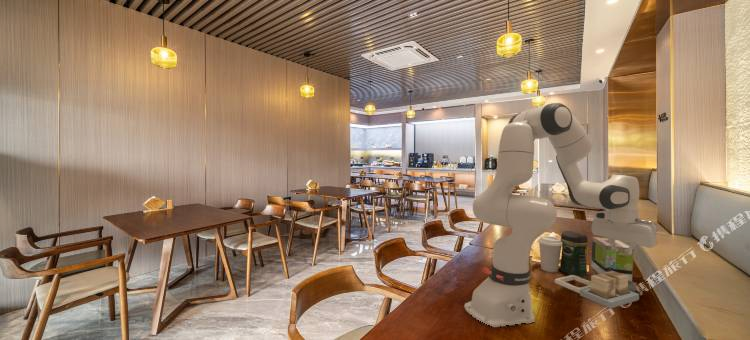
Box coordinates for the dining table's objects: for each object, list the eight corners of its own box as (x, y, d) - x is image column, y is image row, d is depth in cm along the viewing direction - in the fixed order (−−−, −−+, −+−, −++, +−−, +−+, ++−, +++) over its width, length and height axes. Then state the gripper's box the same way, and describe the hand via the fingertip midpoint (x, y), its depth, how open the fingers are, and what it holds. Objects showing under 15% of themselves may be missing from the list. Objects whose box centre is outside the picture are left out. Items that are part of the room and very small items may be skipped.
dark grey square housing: (624, 296, 108) (625, 286, 108) (604, 288, 115) (604, 278, 114) (636, 293, 111) (636, 283, 111) (615, 285, 117) (615, 276, 117)
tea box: (633, 283, 120) (634, 247, 119) (603, 279, 123) (605, 245, 122) (616, 269, 134) (617, 237, 133) (590, 267, 137) (591, 236, 137)
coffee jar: (590, 277, 126) (592, 234, 125) (576, 279, 124) (578, 235, 123) (569, 268, 135) (571, 229, 134) (556, 270, 133) (557, 230, 132)
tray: (579, 296, 109) (580, 289, 108) (554, 285, 118) (554, 278, 118) (598, 291, 113) (599, 284, 113) (572, 280, 122) (573, 274, 122)
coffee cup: (566, 275, 127) (567, 241, 127) (544, 275, 128) (545, 241, 127) (553, 267, 137) (554, 235, 136) (533, 267, 137) (534, 235, 137)
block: (627, 297, 105) (628, 275, 105) (618, 300, 104) (619, 277, 103) (611, 291, 110) (612, 270, 110) (603, 293, 108) (604, 272, 108)
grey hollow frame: (610, 311, 98) (610, 302, 98) (580, 297, 107) (580, 289, 107) (638, 302, 104) (639, 294, 104) (607, 290, 113) (607, 282, 113)
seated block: (605, 303, 101) (606, 281, 100) (590, 297, 105) (591, 275, 105) (614, 301, 103) (615, 278, 102) (599, 295, 107) (600, 273, 107)
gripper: (662, 221, 103) (660, 260, 104) (599, 211, 122) (598, 244, 123) (652, 222, 101) (650, 262, 101) (589, 212, 120) (588, 245, 120)
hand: (621, 252), depth 112 cm, fingers open, 3 cm apart
